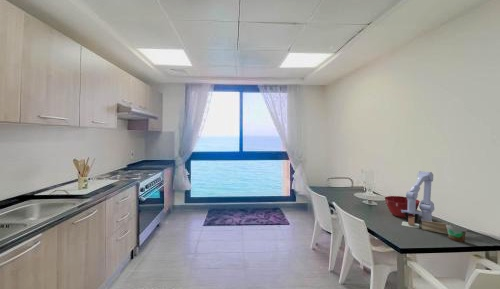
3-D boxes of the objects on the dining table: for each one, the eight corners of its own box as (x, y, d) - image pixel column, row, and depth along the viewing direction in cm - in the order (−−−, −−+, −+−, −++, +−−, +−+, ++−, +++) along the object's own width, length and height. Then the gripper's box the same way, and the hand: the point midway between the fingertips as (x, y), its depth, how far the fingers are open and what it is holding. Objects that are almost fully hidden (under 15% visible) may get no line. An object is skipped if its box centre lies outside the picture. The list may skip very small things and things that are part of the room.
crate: (422, 224, 208) (422, 220, 208) (449, 229, 198) (449, 224, 197) (421, 229, 197) (421, 224, 197) (451, 234, 187) (451, 229, 187)
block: (408, 222, 210) (408, 216, 210) (414, 223, 207) (414, 217, 207) (408, 224, 206) (408, 217, 206) (414, 225, 204) (414, 218, 204)
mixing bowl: (418, 222, 214) (419, 204, 214) (381, 216, 232) (382, 199, 231) (420, 214, 237) (420, 198, 237) (386, 209, 254) (387, 194, 254)
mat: (402, 221, 216) (402, 221, 216) (419, 224, 209) (419, 224, 209) (401, 225, 206) (401, 225, 206) (418, 228, 199) (418, 228, 199)
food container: (441, 237, 181) (442, 223, 181) (447, 236, 183) (447, 222, 183) (461, 244, 169) (461, 229, 169) (466, 242, 171) (467, 228, 171)
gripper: (401, 205, 208) (400, 221, 208) (422, 208, 199) (421, 225, 199) (401, 204, 213) (401, 219, 214) (422, 206, 205) (422, 223, 205)
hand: (411, 222), depth 207 cm, fingers closed on block, 4 cm apart
